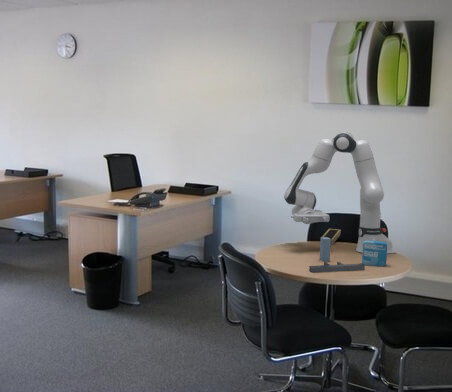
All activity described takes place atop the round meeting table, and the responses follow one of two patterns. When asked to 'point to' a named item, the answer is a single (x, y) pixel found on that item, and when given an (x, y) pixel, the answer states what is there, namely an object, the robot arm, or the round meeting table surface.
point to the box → (332, 234)
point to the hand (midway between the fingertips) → (316, 220)
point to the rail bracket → (336, 267)
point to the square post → (325, 249)
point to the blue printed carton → (374, 253)
